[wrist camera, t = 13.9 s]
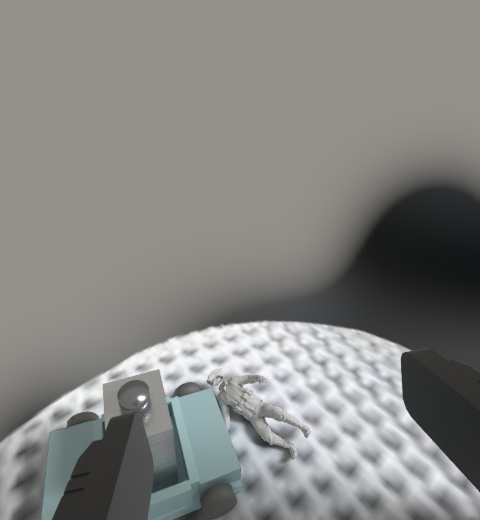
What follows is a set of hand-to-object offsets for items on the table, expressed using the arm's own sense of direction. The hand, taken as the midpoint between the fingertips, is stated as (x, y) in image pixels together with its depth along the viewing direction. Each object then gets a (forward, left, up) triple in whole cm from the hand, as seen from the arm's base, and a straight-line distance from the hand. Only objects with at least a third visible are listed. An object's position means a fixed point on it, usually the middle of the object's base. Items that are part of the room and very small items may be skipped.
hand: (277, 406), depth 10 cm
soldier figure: (-7, -15, -26) cm, 31 cm away
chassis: (+5, -13, -26) cm, 29 cm away
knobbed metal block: (+4, -13, -25) cm, 28 cm away
